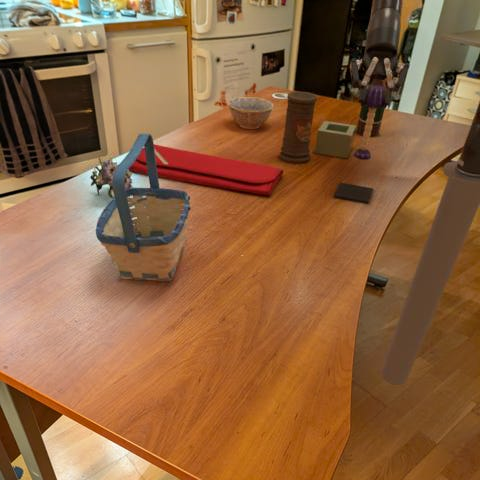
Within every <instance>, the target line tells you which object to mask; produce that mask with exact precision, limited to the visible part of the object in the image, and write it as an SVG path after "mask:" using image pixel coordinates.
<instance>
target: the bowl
mask: <svg viewBox="0 0 480 480" xmlns="http://www.w3.org/2000/svg"><path fill="white" fill-rule="evenodd" d="M227 105H228V107H229V111H230V114H231V116H232V118H233V120H234V121H235V122H236V123H237V124H239V127H241V128H242V129H246V130H256V129H258V128H260V125H262V124H264V123H265V122H267V120H268V119H269V117H270V116H271V112H272V111H273V109H274V107H275V105H274V103H273V102H271V101H270V100H267V99H264V98H261V97H254V96H253V97H250V96H241V97H233V98H231V99H229V100H228V101H227Z"/></svg>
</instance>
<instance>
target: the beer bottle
mask: <svg viewBox="0 0 480 480" xmlns="http://www.w3.org/2000/svg"><path fill="white" fill-rule="evenodd" d="M372 85H379V86H382V87H383V94H384V95H385V92H386V90H385V86H384V84H383V80H379V79H372V81H371V83H370V85H368V86H367V90H366V95H367V93H368V91H369V89H370V87H371V86H372ZM385 109H386V108H383V106H382V107H380V108H376V111H375V117H374V118H373V119H374V122H373V124H372V130H371V135H370V137H377V135H379V133H380V129H381V126H382V121H383V117H384V113H385ZM368 112H369V107H368V106H365V105H364V106H361V105H360V112H359V117H358V121H357V125H356V133H358V134H359V136H363V133H364V131H365V126H366V120H367V118H368V117H367V115H368ZM370 137H369V138H370Z"/></svg>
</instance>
